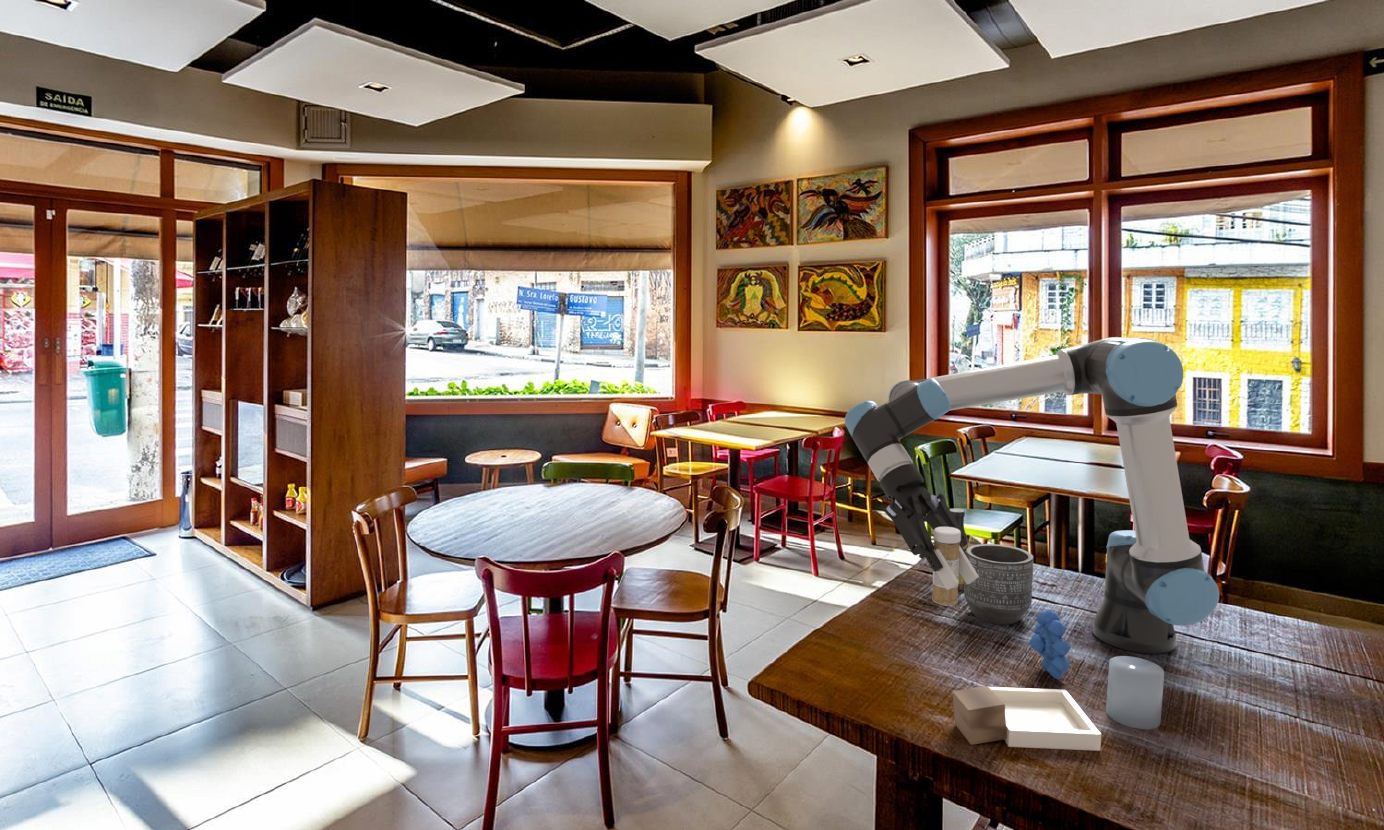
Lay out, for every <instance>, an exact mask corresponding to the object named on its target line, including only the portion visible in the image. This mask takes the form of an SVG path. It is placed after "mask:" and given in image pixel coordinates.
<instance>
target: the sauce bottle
mask: <svg viewBox="0 0 1384 830" xmlns="http://www.w3.org/2000/svg"><path fill="white" fill-rule="evenodd" d="M949 509H950V511H951V513H952V514H953V516H954V518H955V519H956V521H957V522H958V524H959V526H960V527H961V529H962V531H963V532H964V534H965V535H966V539H965V540H964V541H963V542H962V543H961V545H962V547H963V549H964V550H965V552H966V549H967V548H968V547H969V546H970V545H969V539H968V536H967V532H966V530H965V526H964V525H965V524H964V523H965V522H964V521H965V515H966V513H965V510H964V509H961V508H949ZM964 583H965V581H964V579H963V577H962V576H961V574H960V573H959V582H958V591H964Z"/></svg>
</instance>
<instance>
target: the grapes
mask: <svg viewBox="0 0 1384 830" xmlns="http://www.w3.org/2000/svg"><path fill="white" fill-rule="evenodd" d="M1035 621H1036V622H1037V623H1038V624H1037V625H1036V627H1035V629H1034V630H1033V633H1034V635H1032V636H1031V638H1030V640H1029V641H1028V644H1029V646H1030V647H1031V649H1032V650H1034V651H1035V652H1037V653H1038V654H1039V656H1041V657H1042V658H1043V659H1042V660H1041V663H1040V665H1041V667H1042V668H1043V669H1044V670H1045V671H1046V672H1047V673H1049V674H1050V676H1052V677H1053V678H1054V679H1055V680H1056V679H1057V680H1060V679H1062V678H1063V676H1064V675H1065V672H1067V671H1068V669H1069V668H1070V666H1071V662H1070V660H1068V658H1067V657H1066V656H1067V655H1068V653H1069V651H1070V650H1071V645H1070V644H1069V643H1068V642H1067V640H1066V639H1064V638H1063V637H1064V635H1065V633H1066V631H1067V628H1066V626H1065V624H1063V623H1062V622H1061V621H1060V617H1059V616H1058V614H1057V613H1056V612H1054V611H1053V610H1052V609H1047V610H1042V611H1041V612H1039V614H1038V615H1037V617H1036V620H1035Z"/></svg>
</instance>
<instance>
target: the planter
mask: <svg viewBox="0 0 1384 830" xmlns="http://www.w3.org/2000/svg"><path fill="white" fill-rule="evenodd" d="M966 554H967V555H968V557H969V559H970V563H971V565H972V566H973V568H974V569H975V571H976V573H977V574H978V576H979V577H978V578H977V579H975V580H974V581H973V582H971V583H970V584H966V582H965V583H964V589H963V597H964V599H965V601H966V603H967V606H968V607H969V609H970V610H971V612H972V614H973V615H974V617H976V619H979V620H980V621H983V622H985V623H989V624H994V625H1004V626H1006V625H1013V624H1017V623H1018V622H1019V621H1020V620H1021V619H1022V618H1023V617H1024V616H1025V614H1026V613H1027V612H1028V610H1029V609H1030V607H1031V606H1032V599H1033V598H1032V597H1033V581H1034V579H1033V577H1034V555H1033V554H1032V553H1030V552H1029V551H1027V550H1025V549H1022V548H1019V547H1017V546H1016V547H1015V546H1011V545H1006V544H996V543H981V544H973V545H969V547H968V548H967V549H966Z"/></svg>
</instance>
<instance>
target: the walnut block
mask: <svg viewBox="0 0 1384 830" xmlns="http://www.w3.org/2000/svg"><path fill="white" fill-rule="evenodd" d="M989 687H990V686H988V685H984V686H976V687H970V688H963V689H958V690H953V691H951V692H952V703H953V705H952V706H953V716H954V718H953V719H954V725H955V726H956V728H957V729H958V730H959V731H960V733H961V734H962V736H964V738H965V739H966V740H967V741H968V743H969V744H970V745H971V746H973V745H978V744H983V743H989V742H990V743H991V742H996V741H1002V740H1004V739H1007V730H1006V715H1005V704H1004V703H1003V702H1002V701H1001V700H1000V699H999V698H998V697H997V696H996V695H995V694H994V693H993V691H992V690H991V689H990V688H989Z"/></svg>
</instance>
